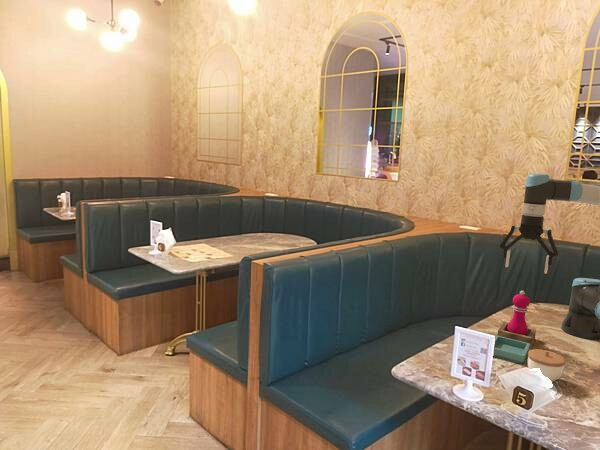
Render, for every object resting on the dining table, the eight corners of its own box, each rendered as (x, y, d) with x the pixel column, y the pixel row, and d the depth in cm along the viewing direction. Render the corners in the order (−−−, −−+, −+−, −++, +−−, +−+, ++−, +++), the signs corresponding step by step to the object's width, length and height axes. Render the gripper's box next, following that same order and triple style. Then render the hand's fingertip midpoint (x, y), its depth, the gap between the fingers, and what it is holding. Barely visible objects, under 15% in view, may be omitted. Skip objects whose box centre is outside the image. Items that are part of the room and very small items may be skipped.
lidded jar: (519, 376, 154) (523, 349, 152) (533, 367, 160) (537, 341, 159) (553, 390, 146) (557, 361, 144) (567, 380, 152) (571, 353, 151)
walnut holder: (534, 338, 187) (536, 329, 186) (530, 348, 177) (531, 338, 176) (502, 331, 193) (504, 321, 192) (496, 340, 183) (498, 330, 182)
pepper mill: (528, 344, 181) (535, 294, 177) (508, 341, 182) (514, 292, 179) (523, 337, 188) (530, 289, 184) (504, 334, 189) (510, 287, 186)
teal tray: (529, 351, 174) (530, 343, 174) (523, 364, 163) (524, 356, 162) (495, 342, 181) (496, 335, 180) (487, 354, 169) (488, 346, 169)
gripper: (495, 212, 180) (489, 265, 183) (570, 220, 167) (561, 277, 170) (499, 210, 186) (493, 262, 190) (571, 218, 173) (563, 273, 176)
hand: (525, 269), depth 180 cm, fingers open, 13 cm apart
